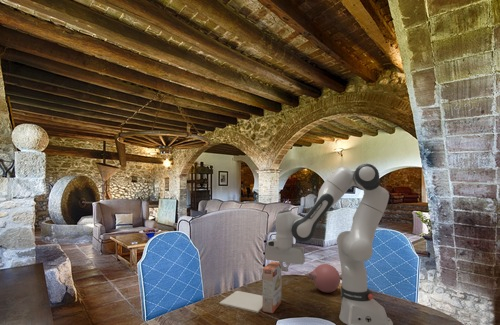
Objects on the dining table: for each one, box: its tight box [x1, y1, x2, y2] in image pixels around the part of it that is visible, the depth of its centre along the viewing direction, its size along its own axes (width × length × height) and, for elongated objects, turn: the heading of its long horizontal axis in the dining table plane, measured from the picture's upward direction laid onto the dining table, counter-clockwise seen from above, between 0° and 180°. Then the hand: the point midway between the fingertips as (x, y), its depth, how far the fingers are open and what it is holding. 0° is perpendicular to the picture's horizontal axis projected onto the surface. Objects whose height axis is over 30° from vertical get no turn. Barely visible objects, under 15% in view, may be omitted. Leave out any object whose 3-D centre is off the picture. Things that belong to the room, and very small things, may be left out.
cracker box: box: [261, 261, 282, 314], centre depth 142 cm, size 14×6×21 cm, turn 157°
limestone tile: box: [219, 290, 263, 314], centre depth 148 cm, size 22×18×1 cm
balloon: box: [304, 263, 341, 293], centre depth 162 cm, size 15×20×15 cm
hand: (284, 271), depth 139 cm, fingers closed
